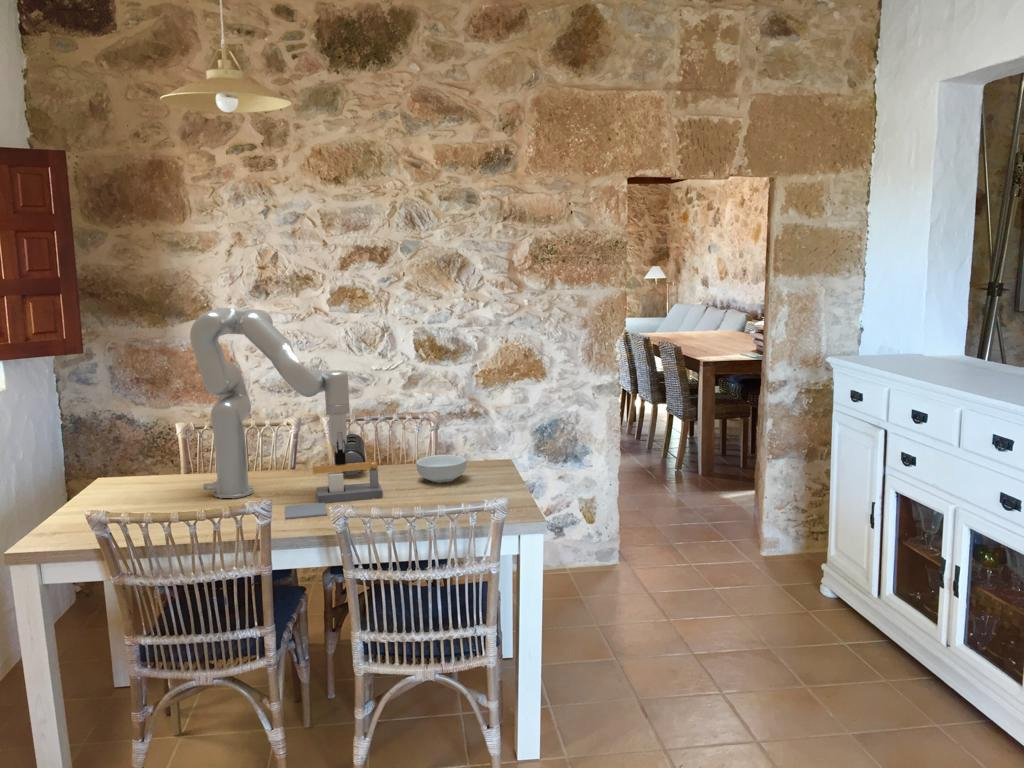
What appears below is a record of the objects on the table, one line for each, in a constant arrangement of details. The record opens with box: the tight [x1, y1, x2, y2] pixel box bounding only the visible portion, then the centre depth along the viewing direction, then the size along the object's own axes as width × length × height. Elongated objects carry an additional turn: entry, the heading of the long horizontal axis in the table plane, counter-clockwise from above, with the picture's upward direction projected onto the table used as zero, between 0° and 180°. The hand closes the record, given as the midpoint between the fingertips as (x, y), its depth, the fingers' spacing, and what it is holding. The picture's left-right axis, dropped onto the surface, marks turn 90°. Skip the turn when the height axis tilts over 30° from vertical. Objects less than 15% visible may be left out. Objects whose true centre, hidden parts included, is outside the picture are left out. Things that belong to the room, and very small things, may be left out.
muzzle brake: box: [343, 433, 366, 476], centre depth 305 cm, size 10×28×10 cm, turn 10°
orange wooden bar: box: [312, 460, 379, 475], centre depth 270 cm, size 20×3×2 cm, turn 105°
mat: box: [284, 502, 328, 520], centre depth 257 cm, size 12×12×1 cm
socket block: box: [316, 468, 384, 504], centre depth 271 cm, size 20×10×8 cm, turn 105°
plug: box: [327, 472, 345, 493], centre depth 270 cm, size 4×4×8 cm
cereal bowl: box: [416, 454, 467, 484], centre depth 289 cm, size 17×17×7 cm
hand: (340, 464), depth 276 cm, fingers closed
